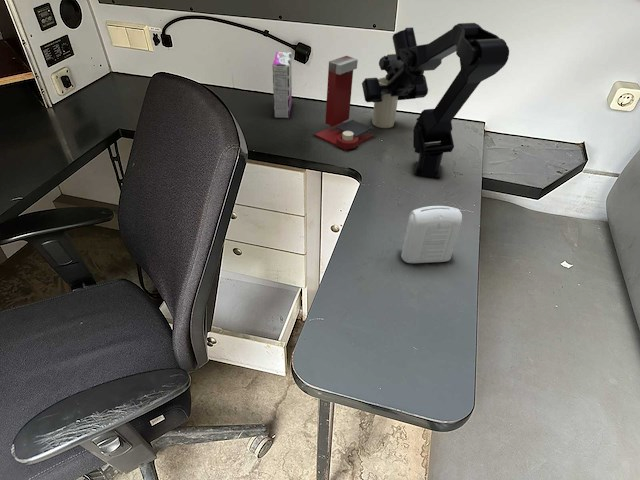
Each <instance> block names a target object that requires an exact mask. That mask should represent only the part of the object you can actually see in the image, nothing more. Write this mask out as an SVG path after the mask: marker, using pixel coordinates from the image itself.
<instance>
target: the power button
mask: <svg viewBox="0 0 640 480" xmlns="http://www.w3.org/2000/svg"><path fill="white" fill-rule="evenodd" d="M342 140H345V141H352V140H353V132H351V131H344V132H343V135H342Z"/></svg>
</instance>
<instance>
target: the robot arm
mask: <svg viewBox="0 0 640 480" xmlns="http://www.w3.org/2000/svg"><path fill="white" fill-rule="evenodd" d="M415 34H416V33H415V29H414V27H405V28H404V29H402V30H399V31H397V32H396V33H393V35H392V43H393V47H394V48H393V49H394V52H395V53H393V54H391V53H389V54H387V55H383V56H381V58H380V59H379V61H378V66H379V68H380V70H381V71H385V72H386V75H385V76H384V77H386V80H388V83H387V85H384V86H380V85H379V80H378V79H379V78H378V77H366V78H364V79H363V81H362V82H361V86H362V91H363V96H364V101H365V102H366V103H373V104H374V102H382V98H381V97H382V96H383V95H388V94H391V97H393V96H398V101H405V100H415V99H422V98H423V99H424V98H425V97H426V96H427V95H428V93H429V88H428V87H429V86H428V83H427V77H426V76H425V75H424V74H425V72H429V71H435V70H436V69H437V68H438V67H439V66H441V65H442V61H443V59H445V58H446V57H449V56H451V55H452V54H454V53H455V54H456V56H457V57H458V58H459V65H460V70H459V72H458V73H457V75H456V76H455V78H454V79H453V80H452V82H451V83H450V85H449V87H448V88H447V90H446V91H445V92H444V94H443V95H442V97H441V98H440V100H439V101H438V102H437V104H436V106H435V107H434V108H427V109H423V110H422V111H421V113H420V115H419V116H418V118H417V117H416V123H415V124H414V127H413V133H412V134H413V137H412V139H413V141H412V145H413V149H414V153H417V154H419V156H418V160H417V161H415V168H414V175H415V176H419V177H424V178H425V177H426V178H433V179H441V174H442V173H441V170H442V166H441V165H442V161H443V160H442V159H443V156H444V153H453V150H454V149H455V144H454V139H453V135H452V131H453V124H452V121H453V119H455V117H456V116H457V115H458V113H459V112H460V111H461V109H462V107H463V106H464V105H465V103H466V102H467V101H468V100H469V99H470V97H471V95H472V94H473V93H474V92H475V90H476V89H477V88H478V86H479V85H480V84H481V83H482V82H483V81H485V80H487V79H489V78H491V77H493V76H494V75H496V74H497V73H499V71H500V70H502V69H503V68H504V67H505V66H506V64H507V63H508V60H509V56H510V48H509V46H508V45H507V42H506V41H505V40H504V39H503V38H500V37H499V36H498V35H497V34H495V33H493V32H490V31H488V30H486V29H484V28H483V27H481V25H479V24H478V23H475V22H461V23H457V24H454V25H453V27H452V28H451V29H449V30H447V31H446V32H444V33H443V34H441V35H440V36H438V37H437V38H435V39H433V40H431V42H429V43H425V44H419V45H418V44H417V39H416V35H415Z"/></svg>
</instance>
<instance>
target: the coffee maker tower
mask: <svg viewBox="0 0 640 480" xmlns="http://www.w3.org/2000/svg"><path fill="white" fill-rule="evenodd" d="M358 61H359V60H358V59H357V58H355V57H352V56H349V55H344V56H341V57H338V58H335V59H332V60H329V61H328V67H327V69H328V71H327V87H326V88H327V90H326V103H325V104H326V105H325V106H326V107H325V109H326V110H325V125H328V126H329V127H331V126H332V127H333V126H335V125H337V124H339V123H341V122H343V123H344V124H342V125H340V126H338V127H336V128H337V129H339V130H341V131H351V132H353V136H355V137H357V136H359V135H361V134H363V133H365V132H367V133H368V132H369V131H372V130H373V127H371V126H368V125H366V124H364V123H362V122H359V121H356V120H355V119H350V112H351V111H350V110H351V101H352V100H351V98H352V88H353V77H354V70H357V69H358ZM349 119H350V120H349ZM348 120H349V121H348Z"/></svg>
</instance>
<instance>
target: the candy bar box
mask: <svg viewBox="0 0 640 480" xmlns="http://www.w3.org/2000/svg"><path fill="white" fill-rule="evenodd" d="M292 83H293V81H292V52H291V51H275V55H274V59H273V61H272V88H273V91H272V92H273V118H275V119H290V116H291V110H292V104H293V102H292V101H293V99H292V97H293V93H292V89H293V88H292Z"/></svg>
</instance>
